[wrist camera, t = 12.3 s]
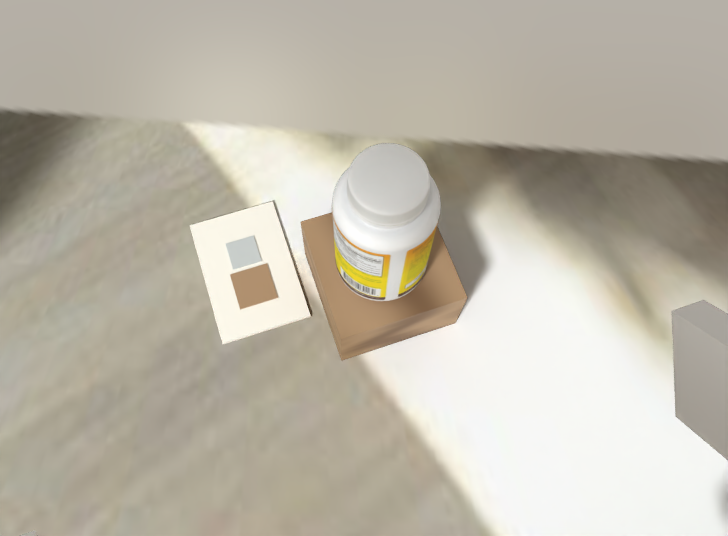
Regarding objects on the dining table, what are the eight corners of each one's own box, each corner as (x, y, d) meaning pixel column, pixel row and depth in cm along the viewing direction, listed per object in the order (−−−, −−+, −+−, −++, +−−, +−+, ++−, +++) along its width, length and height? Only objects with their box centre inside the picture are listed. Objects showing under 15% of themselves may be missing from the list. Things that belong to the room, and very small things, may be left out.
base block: (341, 360, 45) (341, 338, 40) (305, 253, 48) (300, 221, 43) (455, 322, 46) (467, 297, 41) (413, 220, 49) (420, 186, 44)
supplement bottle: (419, 217, 43) (438, 123, 34) (432, 299, 41) (457, 224, 32) (330, 225, 43) (325, 132, 34) (339, 308, 41) (336, 235, 31)
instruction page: (223, 344, 45) (222, 343, 45) (190, 226, 48) (189, 224, 48) (310, 316, 46) (310, 315, 46) (272, 202, 49) (272, 200, 49)
